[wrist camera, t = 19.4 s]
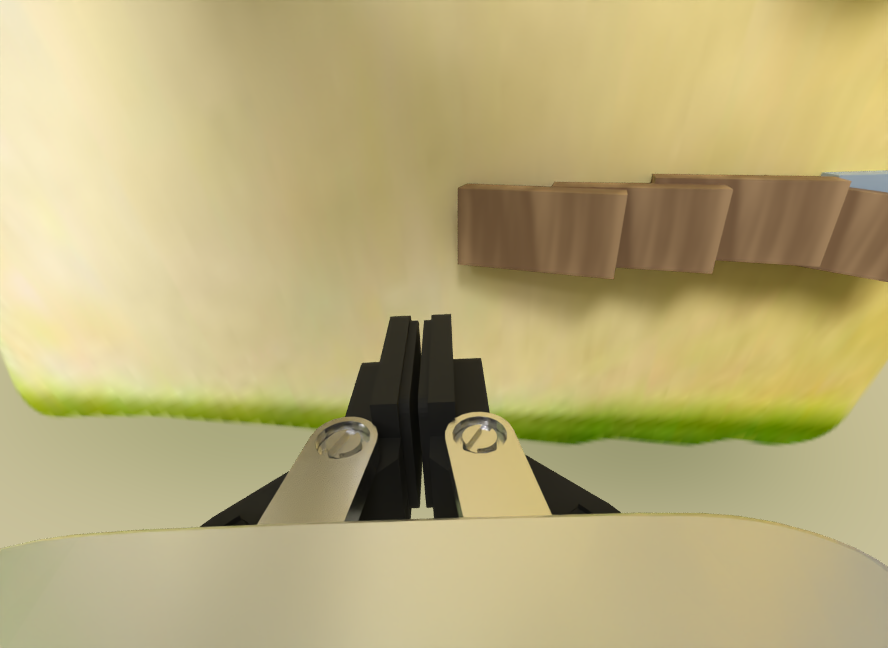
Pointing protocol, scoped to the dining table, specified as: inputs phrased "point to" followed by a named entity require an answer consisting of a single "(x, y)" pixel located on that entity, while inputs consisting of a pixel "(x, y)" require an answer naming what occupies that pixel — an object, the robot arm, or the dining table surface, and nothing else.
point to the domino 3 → (775, 216)
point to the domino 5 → (859, 237)
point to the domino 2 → (669, 224)
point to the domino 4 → (864, 179)
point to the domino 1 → (541, 228)
